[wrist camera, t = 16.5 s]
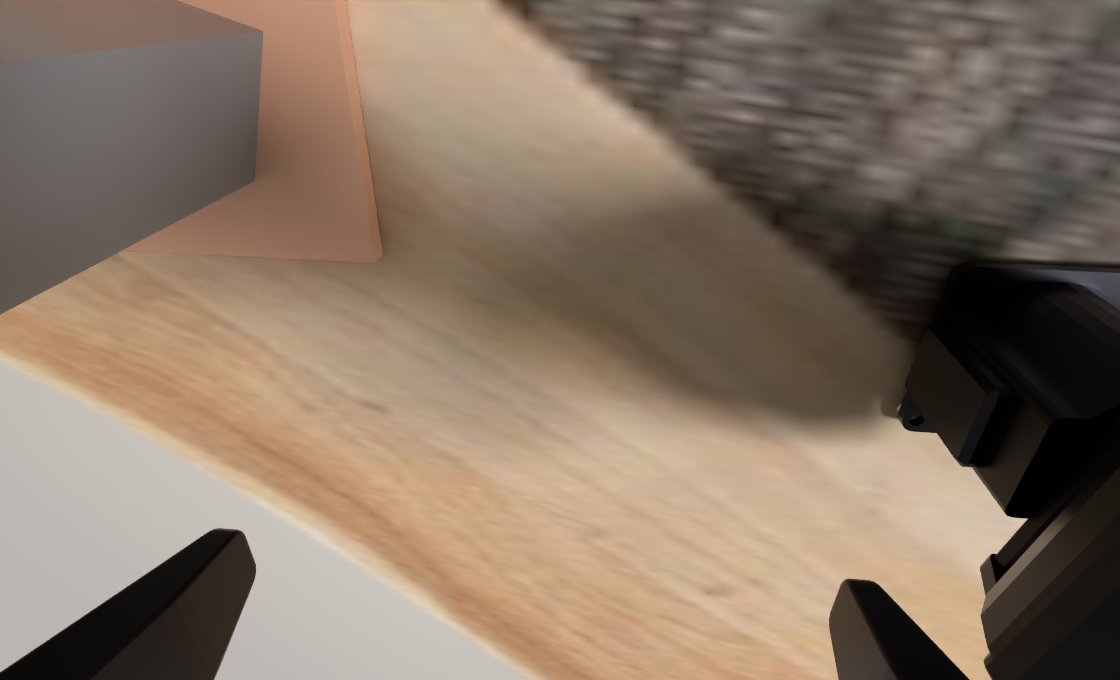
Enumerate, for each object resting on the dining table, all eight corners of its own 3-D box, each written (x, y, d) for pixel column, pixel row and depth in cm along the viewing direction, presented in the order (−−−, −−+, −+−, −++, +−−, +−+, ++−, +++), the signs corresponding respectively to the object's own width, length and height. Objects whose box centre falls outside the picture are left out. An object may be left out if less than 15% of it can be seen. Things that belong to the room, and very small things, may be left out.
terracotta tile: (324, -147, 15) (309, -154, 15) (383, 253, 21) (374, 262, 20) (-36, -146, 16) (-65, -152, 16) (113, 241, 22) (96, 249, 21)
